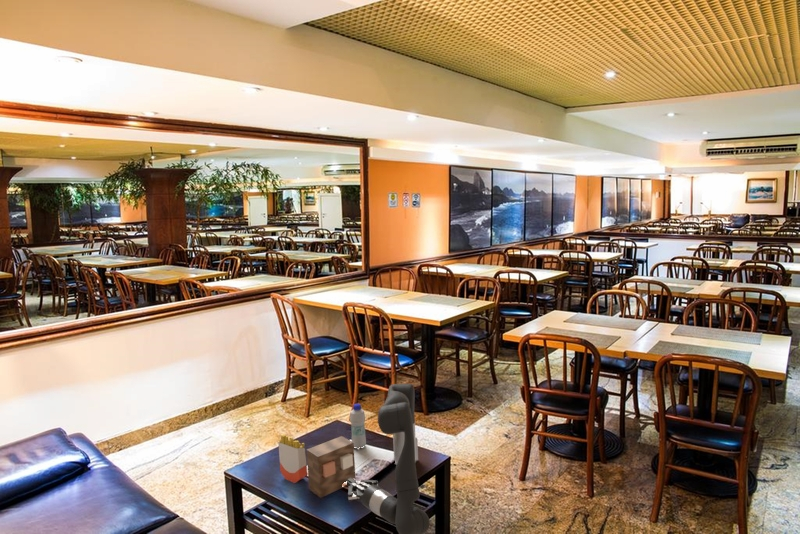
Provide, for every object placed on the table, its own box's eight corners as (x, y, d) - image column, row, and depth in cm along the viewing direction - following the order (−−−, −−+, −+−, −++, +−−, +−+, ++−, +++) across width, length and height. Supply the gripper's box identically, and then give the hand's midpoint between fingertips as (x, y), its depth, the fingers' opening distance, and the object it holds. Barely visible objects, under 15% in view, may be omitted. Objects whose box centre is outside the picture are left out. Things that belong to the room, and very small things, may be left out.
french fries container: (289, 472, 214) (286, 430, 211) (308, 479, 207) (305, 436, 205) (280, 477, 210) (277, 434, 208) (299, 485, 204) (296, 441, 201)
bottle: (369, 447, 233) (367, 403, 230) (357, 452, 228) (355, 408, 226) (360, 442, 238) (358, 399, 235) (348, 447, 233) (346, 404, 231)
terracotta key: (329, 469, 199) (329, 458, 199) (335, 473, 196) (334, 462, 196) (319, 473, 197) (319, 462, 196) (325, 477, 194) (324, 466, 193)
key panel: (343, 474, 211) (341, 436, 209) (355, 481, 205) (353, 442, 203) (309, 489, 200) (306, 449, 198) (320, 497, 194) (317, 456, 192)
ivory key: (346, 462, 205) (346, 451, 204) (353, 465, 202) (352, 454, 201) (337, 466, 202) (336, 455, 201) (343, 469, 199) (342, 458, 198)
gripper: (394, 482, 177) (362, 464, 190) (362, 498, 168) (332, 478, 181) (394, 503, 178) (363, 484, 191) (363, 520, 169) (333, 498, 182)
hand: (348, 481), depth 186 cm, fingers closed
